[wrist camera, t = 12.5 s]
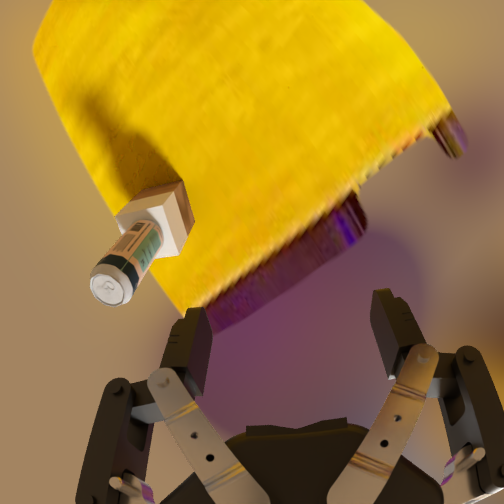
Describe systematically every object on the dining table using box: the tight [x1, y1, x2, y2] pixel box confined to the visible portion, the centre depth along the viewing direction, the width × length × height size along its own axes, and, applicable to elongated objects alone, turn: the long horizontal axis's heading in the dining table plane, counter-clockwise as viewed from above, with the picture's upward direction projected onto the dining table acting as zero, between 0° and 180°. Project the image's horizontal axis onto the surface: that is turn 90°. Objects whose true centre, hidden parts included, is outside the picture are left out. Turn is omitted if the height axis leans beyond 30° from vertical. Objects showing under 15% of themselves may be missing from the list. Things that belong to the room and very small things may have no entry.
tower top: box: [115, 191, 188, 259], centre depth 38 cm, size 7×7×5 cm
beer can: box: [90, 219, 164, 307], centre depth 31 cm, size 5×5×12 cm
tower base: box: [131, 180, 195, 236], centre depth 43 cm, size 7×7×5 cm
